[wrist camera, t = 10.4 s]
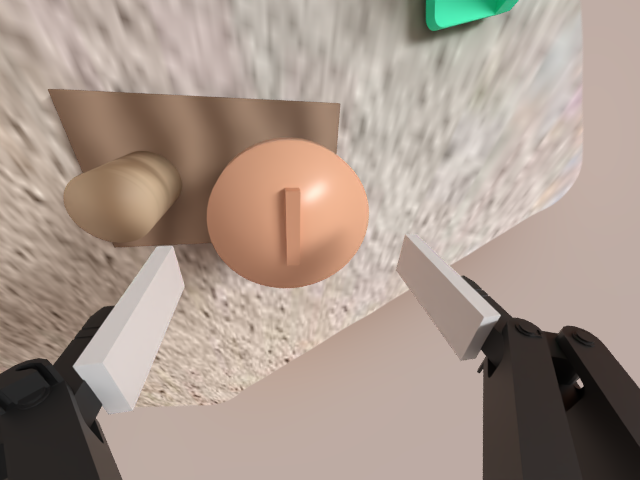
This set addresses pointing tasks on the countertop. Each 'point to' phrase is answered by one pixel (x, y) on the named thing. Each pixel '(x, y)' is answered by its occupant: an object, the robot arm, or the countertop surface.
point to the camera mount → (462, 11)
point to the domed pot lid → (287, 213)
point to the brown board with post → (167, 156)
